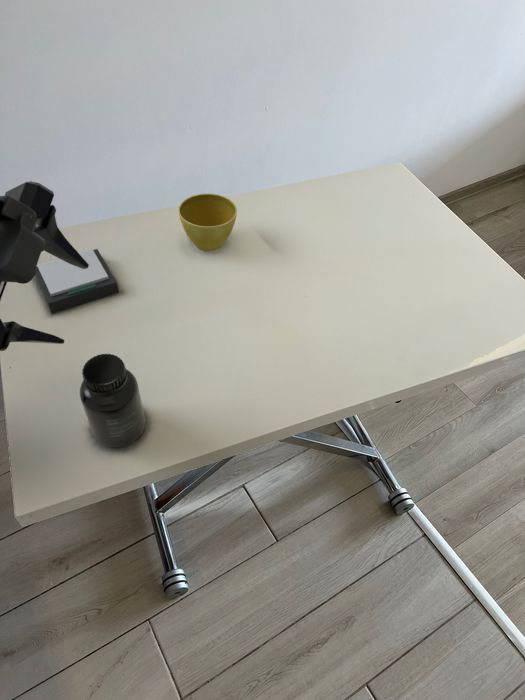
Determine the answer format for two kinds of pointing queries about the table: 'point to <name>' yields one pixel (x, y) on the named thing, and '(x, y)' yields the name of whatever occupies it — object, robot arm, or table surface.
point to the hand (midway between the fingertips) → (74, 303)
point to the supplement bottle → (111, 401)
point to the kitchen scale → (75, 281)
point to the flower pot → (207, 220)
